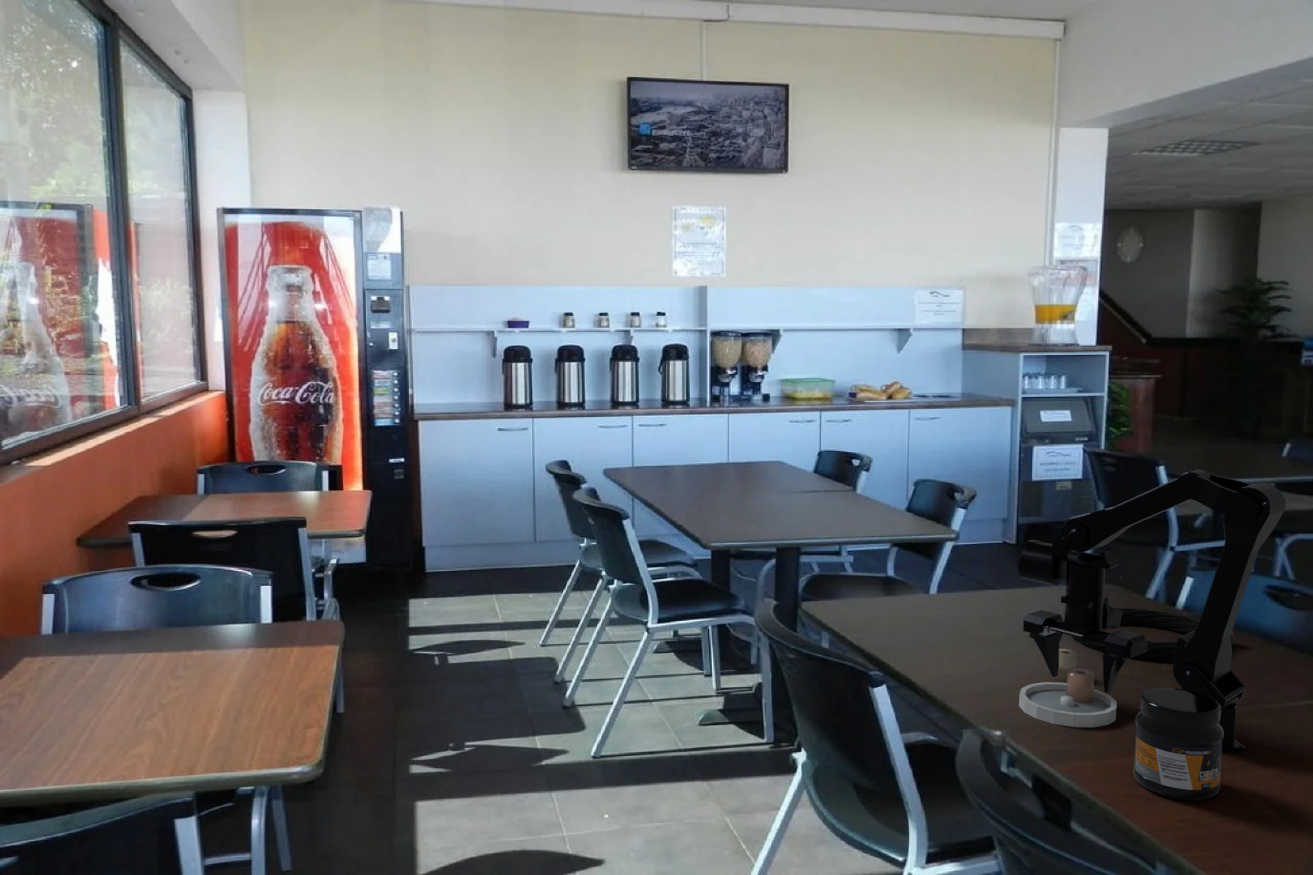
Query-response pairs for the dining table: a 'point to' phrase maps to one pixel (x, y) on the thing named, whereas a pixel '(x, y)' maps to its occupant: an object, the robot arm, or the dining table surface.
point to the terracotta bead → (1080, 685)
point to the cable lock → (1158, 620)
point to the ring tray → (1066, 706)
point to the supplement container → (1178, 744)
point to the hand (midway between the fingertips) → (1080, 684)
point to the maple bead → (1066, 663)
